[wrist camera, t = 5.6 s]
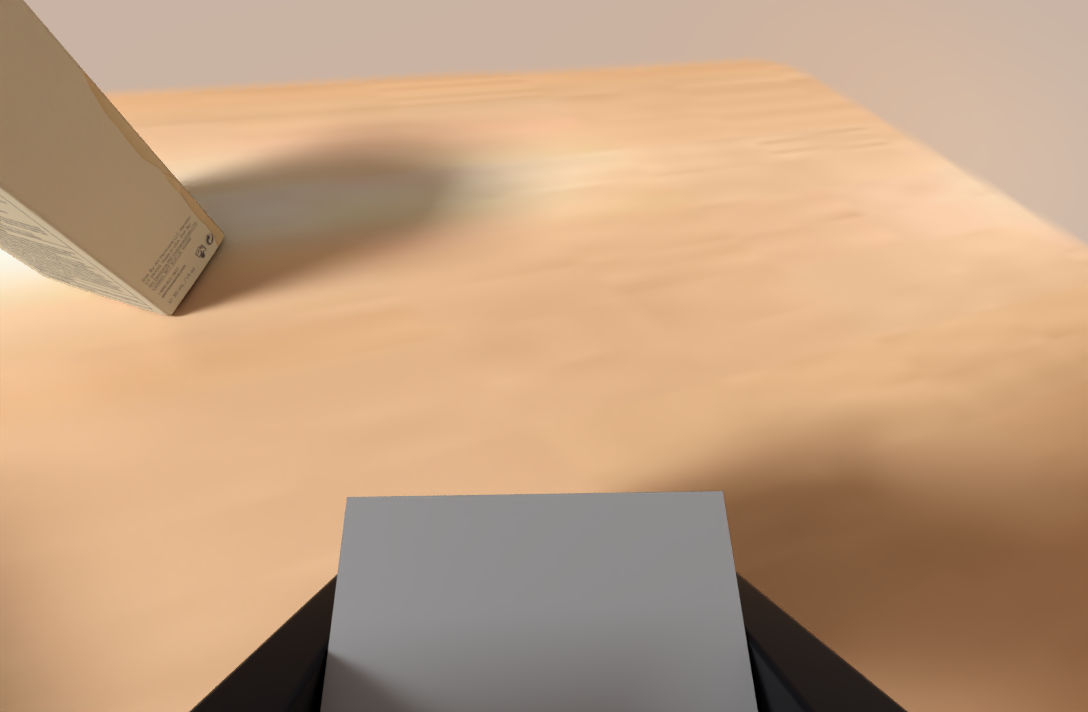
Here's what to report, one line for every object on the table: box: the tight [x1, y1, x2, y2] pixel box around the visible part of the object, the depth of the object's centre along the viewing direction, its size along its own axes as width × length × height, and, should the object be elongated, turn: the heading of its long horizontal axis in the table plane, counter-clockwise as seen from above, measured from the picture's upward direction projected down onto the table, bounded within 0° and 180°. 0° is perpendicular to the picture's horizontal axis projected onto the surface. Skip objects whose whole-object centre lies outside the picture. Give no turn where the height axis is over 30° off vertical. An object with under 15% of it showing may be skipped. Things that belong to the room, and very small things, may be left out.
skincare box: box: [0, 0, 224, 316], centre depth 17 cm, size 6×4×12 cm
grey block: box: [320, 491, 758, 712], centre depth 10 cm, size 5×5×9 cm
